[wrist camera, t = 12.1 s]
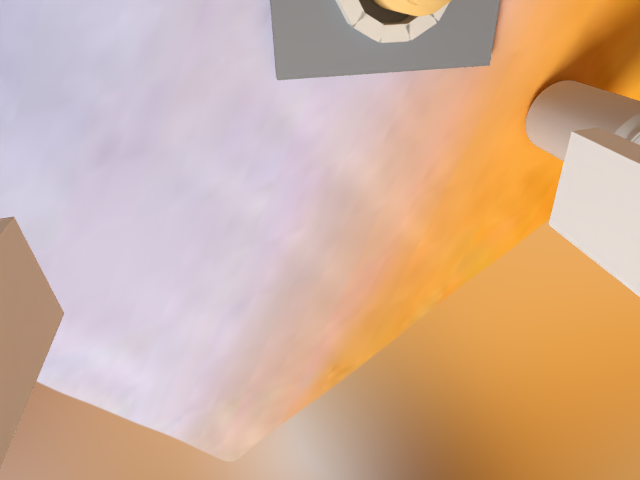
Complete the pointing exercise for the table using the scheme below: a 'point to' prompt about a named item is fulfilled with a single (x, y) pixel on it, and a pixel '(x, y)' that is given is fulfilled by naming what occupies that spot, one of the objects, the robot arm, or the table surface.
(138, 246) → the table surface
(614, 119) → the beverage can
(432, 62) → the collar board
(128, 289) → the table surface
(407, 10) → the nesting doll
